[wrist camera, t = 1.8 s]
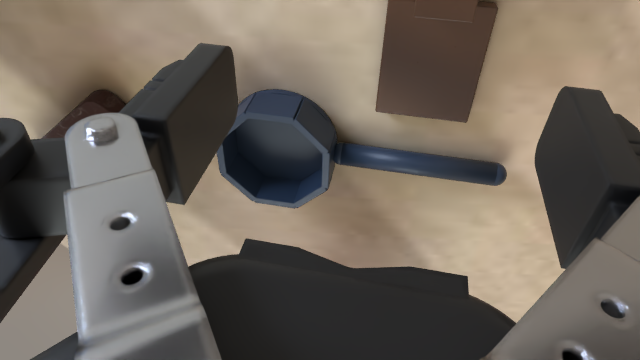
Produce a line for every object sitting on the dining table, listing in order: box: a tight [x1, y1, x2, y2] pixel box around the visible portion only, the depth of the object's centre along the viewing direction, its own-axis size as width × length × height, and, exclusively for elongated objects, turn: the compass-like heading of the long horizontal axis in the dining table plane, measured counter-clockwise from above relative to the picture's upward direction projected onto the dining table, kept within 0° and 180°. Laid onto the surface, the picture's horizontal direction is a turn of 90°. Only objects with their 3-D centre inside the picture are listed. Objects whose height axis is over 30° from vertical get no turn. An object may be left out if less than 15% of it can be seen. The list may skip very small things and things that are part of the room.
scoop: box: [217, 89, 507, 208], centre depth 31 cm, size 19×8×3 cm, turn 89°
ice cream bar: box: [42, 90, 126, 139], centre depth 37 cm, size 5×2×15 cm
